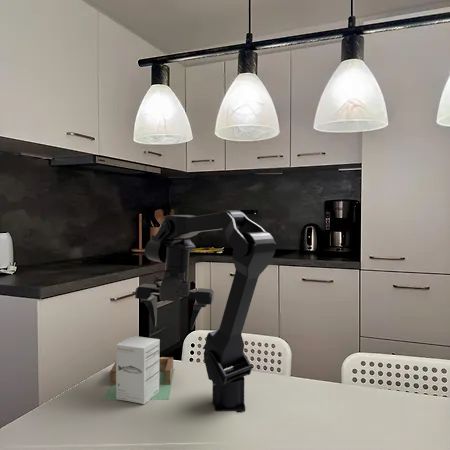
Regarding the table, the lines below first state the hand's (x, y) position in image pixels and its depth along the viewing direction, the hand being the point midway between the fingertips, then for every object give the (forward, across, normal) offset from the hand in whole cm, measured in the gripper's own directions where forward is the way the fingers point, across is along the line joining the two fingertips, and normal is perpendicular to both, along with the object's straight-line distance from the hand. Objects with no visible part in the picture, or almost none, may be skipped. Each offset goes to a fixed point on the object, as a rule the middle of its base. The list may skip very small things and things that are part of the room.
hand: (173, 328), depth 105 cm
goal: (+13, -7, +1) cm, 15 cm away
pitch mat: (+14, -6, -3) cm, 15 cm away
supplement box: (+14, -5, -10) cm, 17 cm away
